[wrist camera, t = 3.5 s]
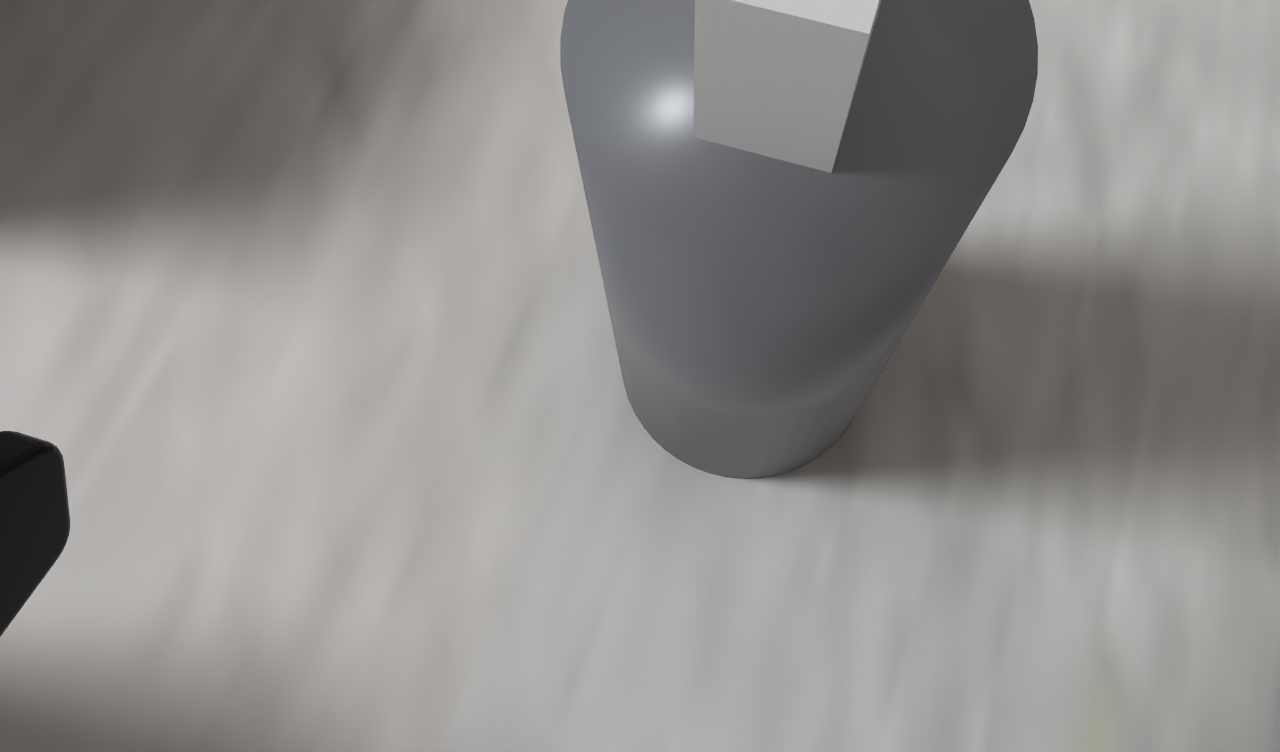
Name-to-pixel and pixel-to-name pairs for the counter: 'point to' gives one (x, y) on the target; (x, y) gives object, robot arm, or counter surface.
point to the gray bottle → (781, 197)
